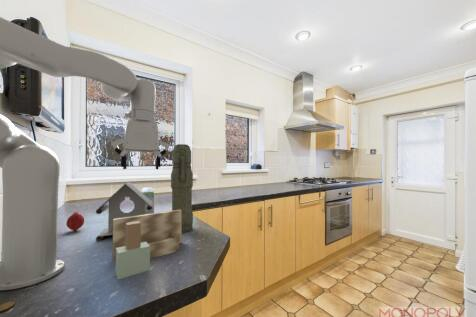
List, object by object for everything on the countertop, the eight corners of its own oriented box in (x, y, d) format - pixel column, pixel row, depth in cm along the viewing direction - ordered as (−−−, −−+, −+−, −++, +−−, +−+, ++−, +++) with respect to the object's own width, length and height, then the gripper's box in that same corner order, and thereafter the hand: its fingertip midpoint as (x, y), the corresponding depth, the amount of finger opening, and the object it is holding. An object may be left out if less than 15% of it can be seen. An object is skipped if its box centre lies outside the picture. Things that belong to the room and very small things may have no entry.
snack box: (142, 215, 111) (142, 187, 111) (153, 214, 113) (153, 186, 113) (140, 226, 91) (140, 191, 92) (154, 224, 93) (154, 191, 94)
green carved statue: (173, 235, 78) (173, 143, 80) (168, 227, 89) (169, 145, 90) (196, 231, 82) (196, 143, 83) (189, 224, 93) (189, 146, 94)
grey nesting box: (153, 228, 88) (153, 181, 89) (151, 235, 79) (152, 182, 80) (103, 233, 82) (103, 182, 83) (95, 241, 73) (96, 184, 74)
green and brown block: (117, 279, 48) (118, 227, 49) (115, 272, 51) (116, 223, 52) (149, 270, 52) (149, 222, 53) (145, 264, 56) (146, 219, 56)
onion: (83, 231, 84) (84, 211, 85) (65, 234, 81) (65, 213, 81) (84, 227, 89) (84, 209, 89) (67, 230, 86) (67, 210, 86)
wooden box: (116, 267, 54) (116, 224, 54) (112, 257, 60) (113, 218, 60) (189, 248, 66) (189, 213, 66) (179, 241, 72) (179, 209, 72)
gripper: (110, 112, 62) (108, 169, 62) (171, 118, 69) (170, 169, 69) (114, 117, 69) (112, 169, 68) (168, 122, 76) (167, 169, 75)
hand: (141, 169), depth 68 cm, fingers open, 9 cm apart
